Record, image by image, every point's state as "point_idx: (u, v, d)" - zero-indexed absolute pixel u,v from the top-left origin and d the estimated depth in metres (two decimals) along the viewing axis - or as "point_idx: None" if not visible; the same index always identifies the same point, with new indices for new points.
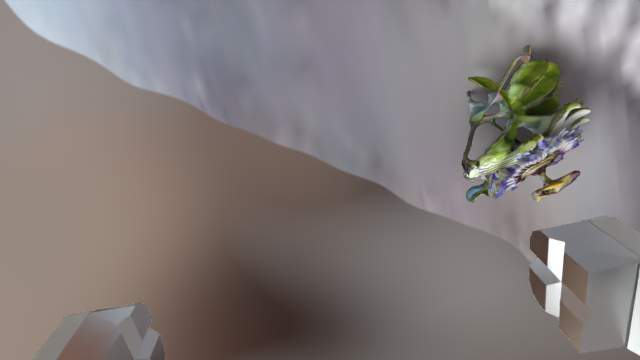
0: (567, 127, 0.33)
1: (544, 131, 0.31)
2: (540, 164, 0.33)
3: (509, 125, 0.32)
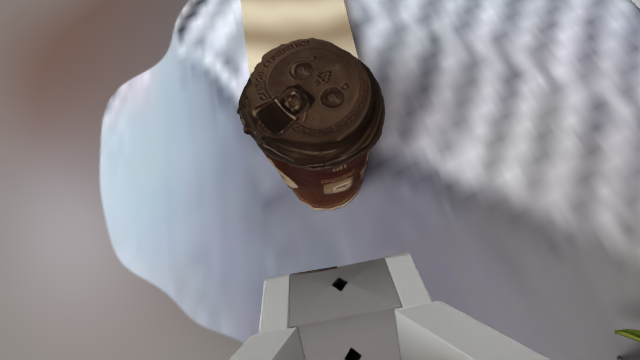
0: None
1: None
2: None
3: None
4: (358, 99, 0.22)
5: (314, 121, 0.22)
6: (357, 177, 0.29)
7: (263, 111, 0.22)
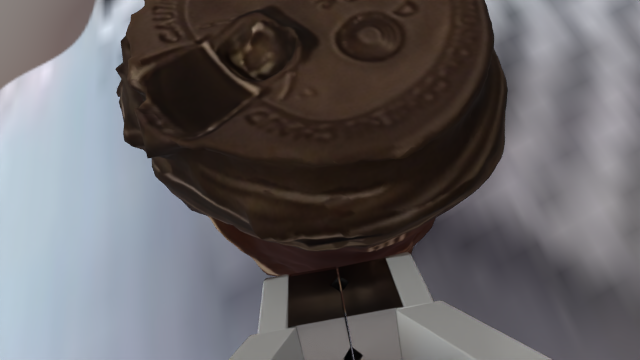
0: None
1: None
2: None
3: None
4: (451, 38, 0.07)
5: (316, 100, 0.07)
6: None
7: (164, 72, 0.07)
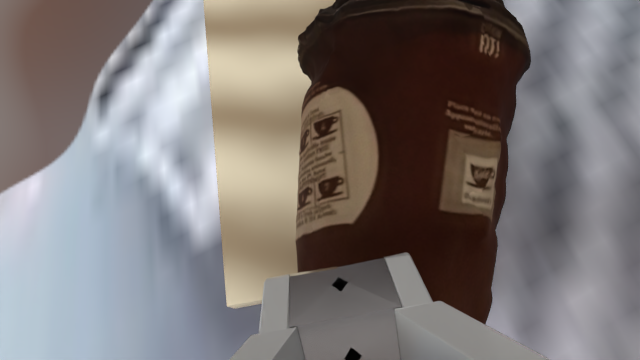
0: None
1: None
2: None
3: None
4: None
5: None
6: (494, 226, 0.13)
7: None
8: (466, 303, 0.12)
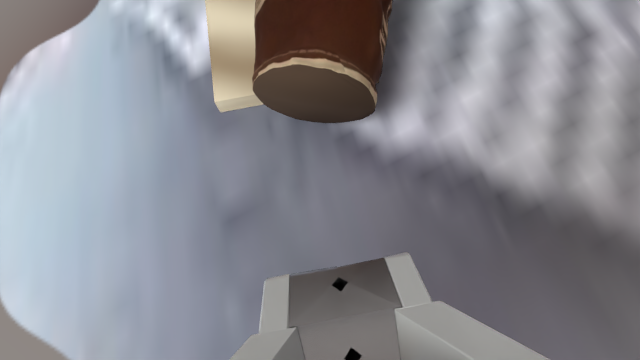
0: None
1: None
2: None
3: None
4: None
5: None
6: None
7: None
8: (356, 40, 0.19)
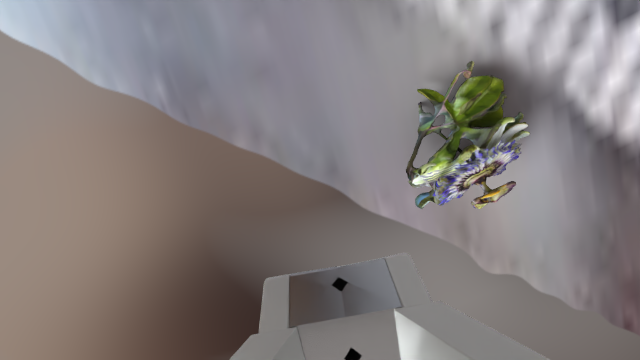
0: (507, 140, 0.35)
1: (483, 143, 0.33)
2: (480, 174, 0.35)
3: (451, 136, 0.34)
4: None
5: None
6: None
7: None
8: None
